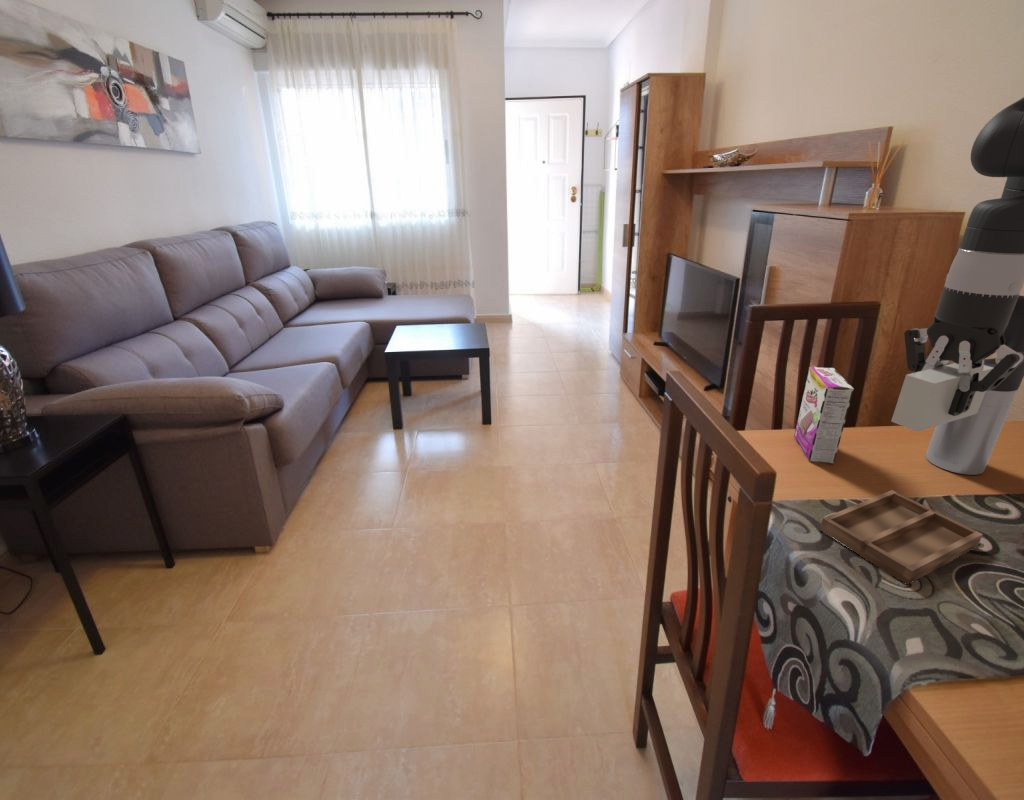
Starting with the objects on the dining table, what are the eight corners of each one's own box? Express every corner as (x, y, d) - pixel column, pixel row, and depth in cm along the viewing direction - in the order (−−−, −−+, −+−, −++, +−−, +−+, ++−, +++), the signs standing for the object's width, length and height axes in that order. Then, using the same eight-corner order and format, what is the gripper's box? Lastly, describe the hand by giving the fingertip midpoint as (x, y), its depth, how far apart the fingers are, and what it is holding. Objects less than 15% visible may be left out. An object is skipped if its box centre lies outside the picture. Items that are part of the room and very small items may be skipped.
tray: (888, 502, 92) (892, 490, 91) (977, 547, 81) (983, 534, 80) (819, 530, 85) (822, 518, 84) (906, 585, 74) (912, 571, 73)
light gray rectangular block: (950, 404, 79) (966, 360, 76) (977, 413, 76) (994, 368, 73) (891, 421, 74) (906, 374, 71) (917, 431, 71) (934, 383, 68)
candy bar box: (791, 436, 115) (808, 365, 108) (816, 438, 114) (835, 367, 107) (807, 462, 105) (826, 386, 98) (834, 464, 104) (856, 388, 97)
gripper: (1068, 295, 63) (1013, 424, 70) (939, 275, 75) (903, 387, 82) (1034, 300, 60) (981, 434, 67) (906, 279, 72) (871, 395, 79)
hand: (938, 408), depth 74 cm, fingers closed on light gray rectangular block, 3 cm apart
